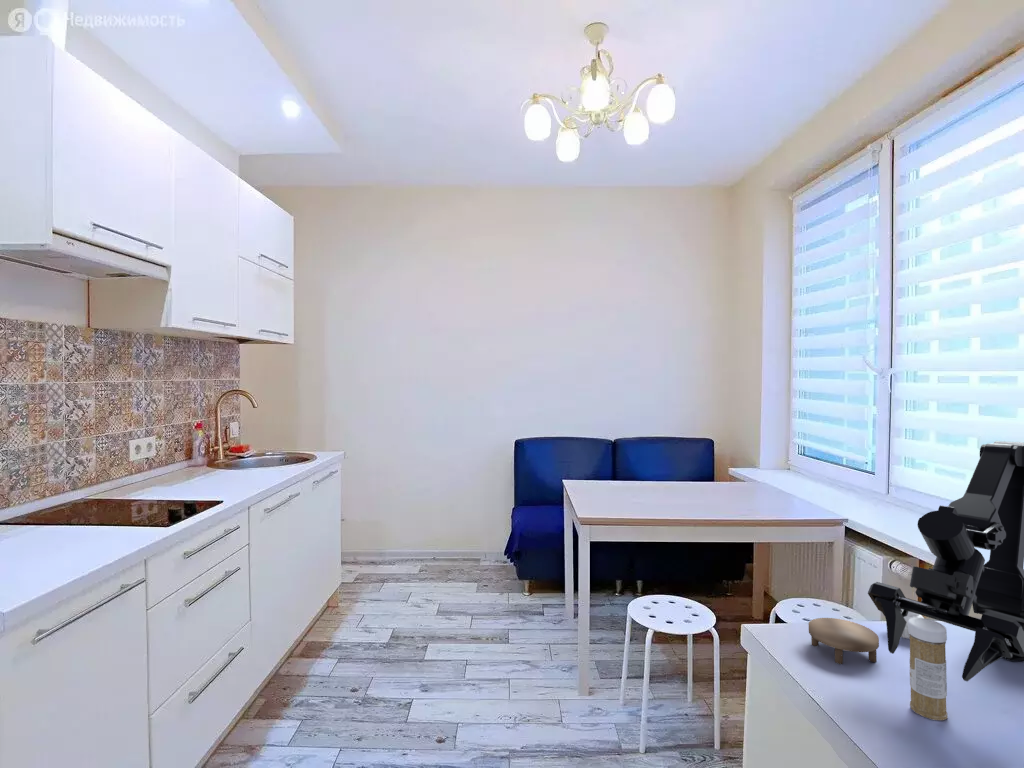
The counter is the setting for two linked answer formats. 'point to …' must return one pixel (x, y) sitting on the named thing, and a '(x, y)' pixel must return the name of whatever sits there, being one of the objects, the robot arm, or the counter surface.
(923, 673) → the sprinkles bottle
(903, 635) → the muffin
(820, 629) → the walnut footstool
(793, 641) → the counter surface
